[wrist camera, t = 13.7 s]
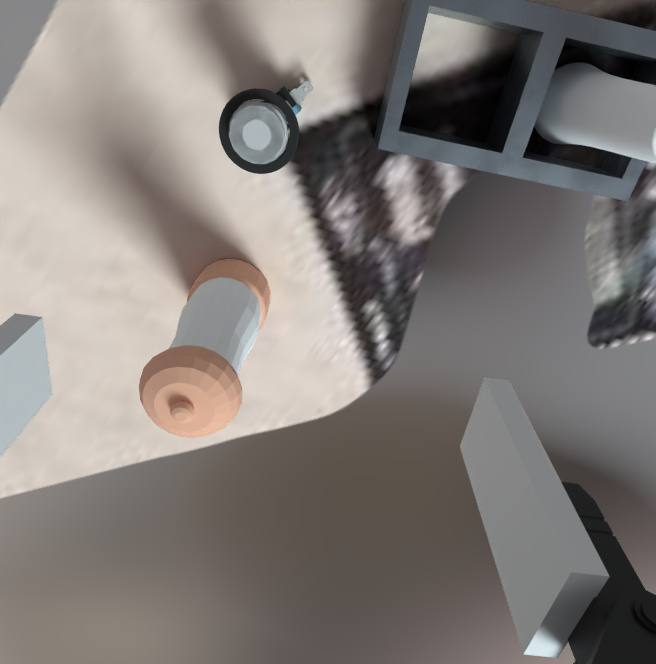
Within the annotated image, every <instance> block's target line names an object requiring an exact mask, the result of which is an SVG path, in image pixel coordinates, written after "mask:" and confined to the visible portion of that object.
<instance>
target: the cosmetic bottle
mask: <svg viewBox="0 0 656 664" xmlns="http://www.w3.org/2000/svg"><path fill="white" fill-rule="evenodd" d="M534 127H535V129H536V131H537V132H538V133H539V135H540V136H541V137H542V138H544V139H545V140H547V141H549V142H551V143H554V144H561V145H564V144H577V145H584V146H590V147H594V148H598V149H602V150H606V151H610V152H614V153H617V154H621V155H625V156H628V157H632V158H636V159H640V160H644V161H648V162H652V163H656V85H652V84H647V83H642V82H637V81H633V80H628V79H624V78H620V77H617V76H613V75H610V74H608V73H605V72H603V71H601V70H599V69H598V68H597V67H595V66H593V65H591V64H587V63H581V62H578V63H570V64H567V65H564V66H562V67H560V68H558V69H556V70H555V71H554V72H553V75H552V78H551V81H550V83H549V86H548V89H547V92H546V94H545V97H544V100H543V103H542V105H541V108H540V111H539V114H538V116H537V119H536V122H535V125H534Z"/></svg>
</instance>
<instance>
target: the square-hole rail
mask: <svg viewBox="0 0 656 664" xmlns="http://www.w3.org/2000/svg"><path fill="white" fill-rule="evenodd" d="M428 13H433V14H437V15H441V16H445V17H450V18H454V19H458V20H463V21H467V22H471V23H475V24H480V25H484V26H488V27H492V28H497V29H501V30H505V31H510V32H514V33H518V34H521V35H520V38H519V41H518V44H517V47H516V50H515V53H514V56H513V60H512V63H511V66H510V69H509V72H508V75H507V78H506V81H505V84H504V87H503V90H502V93H501V96H500V99H499V102H498V106H497V109H496V112H495V115H494V118H493V121H492V124H491V127H490V130H489V133H488V136H487V139H486V142H485V143H484V142H480V141H475V140H470V139H466V138H461V137H456V136H452V135H447V134H443V133H438V132H433V131H429V130H424V129H419V128H415V127H410V126H405V125H401V124H400V123H401V119H402V115H403V111H404V107H405V103H406V99H407V95H408V91H409V87H410V82H411V78H412V74H413V70H414V66H415V62H416V58H417V54H418V50H419V46H420V42H421V38H422V34H423V30H424V26H425V22H426V18H427V14H428ZM564 44H565V45H570V46H574V47H578V48H582V49H587V50H591V51H595V52H600V53H604V54H608V55H612V56H617V57H621V58H625V59H629V60H634V61H638V64H637V67H636V69H635V71H634V74H633V76H632V78H631V80H633V81H637V82H642V83H647V84H652V85H656V31H653V30H649V29H644V28H640V27H636V26H632V25H628V24H623V23H619V22H615V21H611V20H607V19H603V18H598V17H594V16H590V15H586V14H582V13H577V12H573V11H569V10H565V9H561V8H557V7H552V6H548V5H544V4H540V3H536V2H531V1H527V0H405V2H404V7H403V11H402V16H401V20H400V24H399V29H398V33H397V38H396V42H395V47H394V51H393V55H392V60H391V64H390V69H389V73H388V77H387V82H386V86H385V91H384V95H383V100H382V104H381V108H380V113H379V117H378V122H377V126H376V130H375V135H374V141H375V143H376V146H377V148H378V149H381V150H386V151H391V152H396V153H401V154H405V155H410V156H415V157H420V158H424V159H429V160H434V161H439V162H443V163H448V164H453V165H458V166H462V167H467V168H472V169H477V170H481V171H486V172H491V173H496V174H501V175H505V176H510V177H515V178H519V179H524V180H529V181H534V182H539V183H543V184H548V185H553V186H557V187H563V188H567V189H572V190H576V191H581V192H586V193H591V194H595V195H600V196H605V197H610V198H614V199H619V200H624V201H628V199H629V197H630V195H631V193H632V191H633V189H634V187H635V185H636V183H637V181H638V178H639V176H640V174H641V172H642V170H643V168H644V166H645V164H646V162H647V161H644V160H640V159H636V158H632V157H628V156H625V155H621V154H617V153H614V152H610V151H606V150H602V149H601V150H600V152H599V155H598V157H597V159H596V162H595V164H594V166H591V165H587V164H582V163H577V162H573V161H568V160H563V159H559V158H554V157H550V156H545V155H540V154H536V153H531V152H526V151H525V149H526V147H527V144H528V141H529V138H530V136H531V133H532V130H533V127H534V125H535V122H536V119H537V116H538V114H539V111H540V108H541V105H542V103H543V100H544V97H545V94H546V92H547V89H548V86H549V83H550V81H551V78H552V75H553V72H554V70H555V67H556V64H557V61H558V59H559V56H560V53H561V50H562V48H563V45H564Z"/></svg>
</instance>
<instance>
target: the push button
mask: <svg viewBox="0 0 656 664" xmlns="http://www.w3.org/2000/svg"><path fill="white" fill-rule="evenodd" d="M304 86H306V87H307V88H308V90H307V91H304V90H303V87H304ZM312 89H313V87H312V85H311V84H310V82H309V81H308V80H307V81H305V82H304V83H303V84H302V85H301V86H300V87H298V88H296V87H295V88H294V89H293V90H292V91H291V92H290V91H289V90H288V91H287V89H286V88H285V87H283V88H282V89H280V90H279V91H278V92H277V93H274V92H271V91H269V90H265V89H249V90H246V91H243V92H241V93H239V94H237V95H236V96H234V97H233V98H232V99H231V100H230V101H229V102H228V103H227V104H226V106H225V108H224V109H223V112H222V114H221V117H220V122H219V135H220V140H221V143H222V146H223V148H224V150H225V152H226V154H227V155H228V157H229V158H230V159H231V160H232V161H233V162H234V163H235V164H236V165H237V166H239V167H240V168H242V169H244V170H246V171H249V172H252V173H257V174H266V173H271V172H274V171H277V170H279V169H280V168H282V167H283V166H285V165H286V164H287V163H288V162H289V161H290V159H291V158H292V156H293V155H294V153H295V151H296V148H297V145H298V141H299V126H298V122H297V118H296V116H295V115H296V114H297V113H299V112H300V111H301V108H302V107H301V106H300V105H299V104H300V103H301V102H302V101H303V100H304V97H305V96H306V95H307V94H308V93H309V92H311V91H312ZM251 99H262V101H261V102H259V101H254V102H249V103H245V104H243V105H242V106H241V107H239V106H240V105H241V104H242V103H243V102H245V101H248V100H251ZM238 107H239V108H238ZM287 121H288V123H287ZM288 124H289V125H288ZM289 130H290V140H289V144H288V147H287V149H286V150H285V151H284V149H285V147H286V143H287V140H288V131H289ZM283 151H284V152H283ZM282 152H283V153H282Z"/></svg>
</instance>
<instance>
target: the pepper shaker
mask: <svg viewBox="0 0 656 664" xmlns="http://www.w3.org/2000/svg"><path fill="white" fill-rule="evenodd" d="M269 304H270V289H269V286H268V282H267V280H266V279H265V278H264V276H263V275H262V273H261V272H260V271H259V270H258V269H256V268H255V267H254V266H253V265H251V264H249V263H247V262H244V261H242V260H238V259H228V258H227V259H222V260H217V261H215V262H213V263H211V264H209V265H208V266H206V267H205V268H204V270H203V271H202V272H201V273H200V274H199V276H198V277H197V279H196V281H195V282H194V284H193V286H192V287H191V289H190V292H189V295H188V298H187V303H186V305H185V306H184V308H183V310H182V313H181V316H180V319H179V324H178V328H177V332H176V336H175V338H174V340H173V342H172V344H171V346H170V348H169V349H167V350H166V351H164V352H162V353H160V354H158V355H156V356H155V357H153V358H152V359H151V360H150V361H149V363H148V364H147V365H146V366H145V367H144V369H143V372H142V375H141V378H140V384H139V391H140V400H141V402H142V404H143V406H144V409H145V411H146V413H147V414H148V416H149V417H150V418H151V419H152V420H153V421H154V423H155V424H156V425H157V426H159V427H161V428H162V429H164V430H165V431H167V432H169V433H172V434H175V435H178V436H181V437H191V438H196V437H202V436H207V435H210V434H213V433H215V432H217V431H219V430H221V429H223V428H225V427H226V426H227V425H228V424H229V423H230V422H231V421H232V420H233V418H234V417H235V416H236V415H237V413H238V410H239V408H240V406H241V404H242V387H241V384H240V381H239V378H238V374H239V371H240V367H241V364H242V363H243V361H244V359H245V358H246V356H247V355H248V353H249V352H250V350H251V349H252V347H253V345H254V343H255V340H256V338H257V335H258V331H259V330H260V329H261V328H262V326H263V323H264V321H265V319H266V316H267V312H268V308H269Z"/></svg>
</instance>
